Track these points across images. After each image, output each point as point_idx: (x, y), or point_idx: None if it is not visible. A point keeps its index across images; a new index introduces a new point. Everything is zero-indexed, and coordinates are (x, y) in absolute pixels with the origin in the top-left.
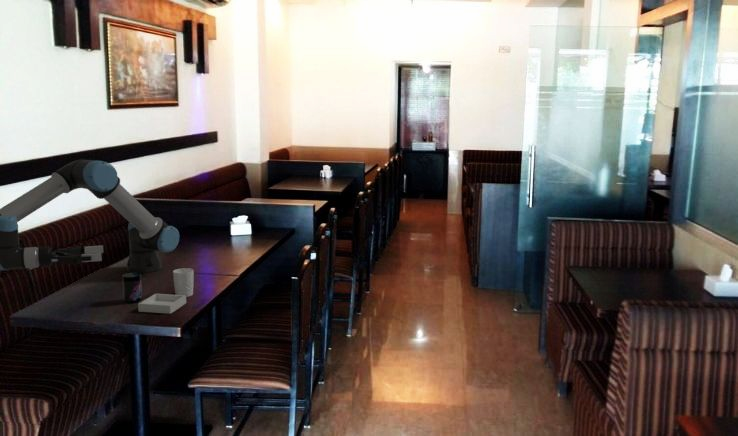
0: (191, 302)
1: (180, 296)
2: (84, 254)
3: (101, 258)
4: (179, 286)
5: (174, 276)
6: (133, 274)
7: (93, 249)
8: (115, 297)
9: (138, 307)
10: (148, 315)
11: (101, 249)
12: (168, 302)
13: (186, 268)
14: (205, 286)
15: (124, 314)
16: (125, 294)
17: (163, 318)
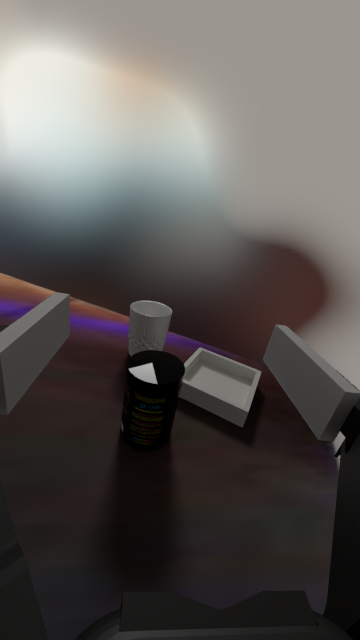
0: None
1: (200, 353)
2: (335, 377)
3: (267, 350)
4: (163, 340)
5: (158, 324)
6: (154, 361)
7: (45, 339)
8: (75, 477)
9: (245, 419)
10: (268, 414)
11: (66, 319)
12: (200, 375)
13: (134, 303)
14: (108, 327)
15: (265, 459)
16: (165, 428)
17: (284, 396)
